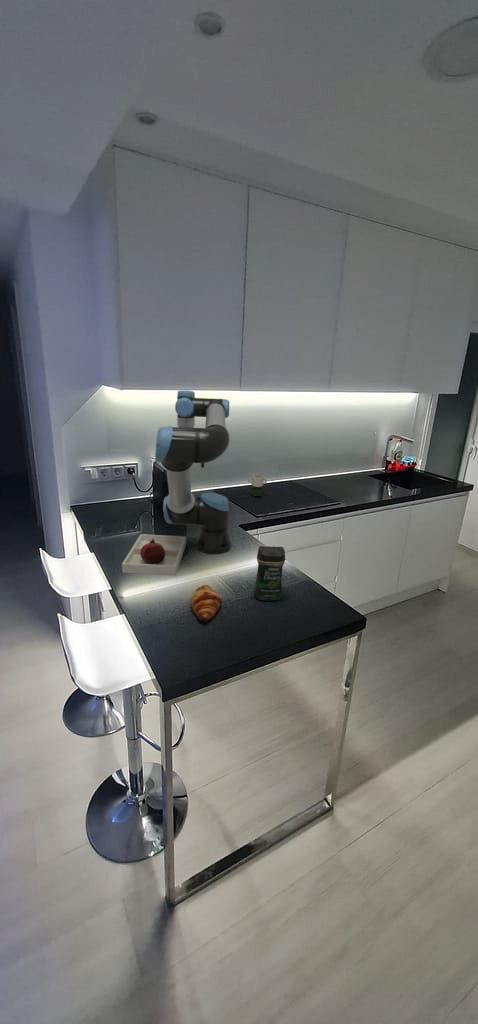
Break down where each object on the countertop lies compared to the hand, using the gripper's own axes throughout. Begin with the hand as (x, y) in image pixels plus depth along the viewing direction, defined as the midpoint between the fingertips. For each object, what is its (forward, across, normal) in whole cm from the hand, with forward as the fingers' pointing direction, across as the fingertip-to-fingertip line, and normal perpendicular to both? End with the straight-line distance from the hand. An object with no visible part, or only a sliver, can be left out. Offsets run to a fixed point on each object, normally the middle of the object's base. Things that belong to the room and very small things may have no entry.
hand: (185, 473), depth 195 cm
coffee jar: (+27, -37, +59) cm, 75 cm away
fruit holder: (+27, +7, +33) cm, 43 cm away
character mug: (+27, -35, -57) cm, 72 cm away
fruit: (+26, +7, +40) cm, 48 cm away
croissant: (+27, -16, +68) cm, 75 cm away
